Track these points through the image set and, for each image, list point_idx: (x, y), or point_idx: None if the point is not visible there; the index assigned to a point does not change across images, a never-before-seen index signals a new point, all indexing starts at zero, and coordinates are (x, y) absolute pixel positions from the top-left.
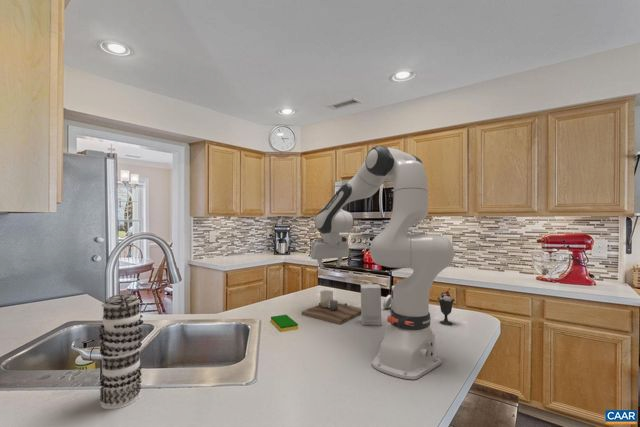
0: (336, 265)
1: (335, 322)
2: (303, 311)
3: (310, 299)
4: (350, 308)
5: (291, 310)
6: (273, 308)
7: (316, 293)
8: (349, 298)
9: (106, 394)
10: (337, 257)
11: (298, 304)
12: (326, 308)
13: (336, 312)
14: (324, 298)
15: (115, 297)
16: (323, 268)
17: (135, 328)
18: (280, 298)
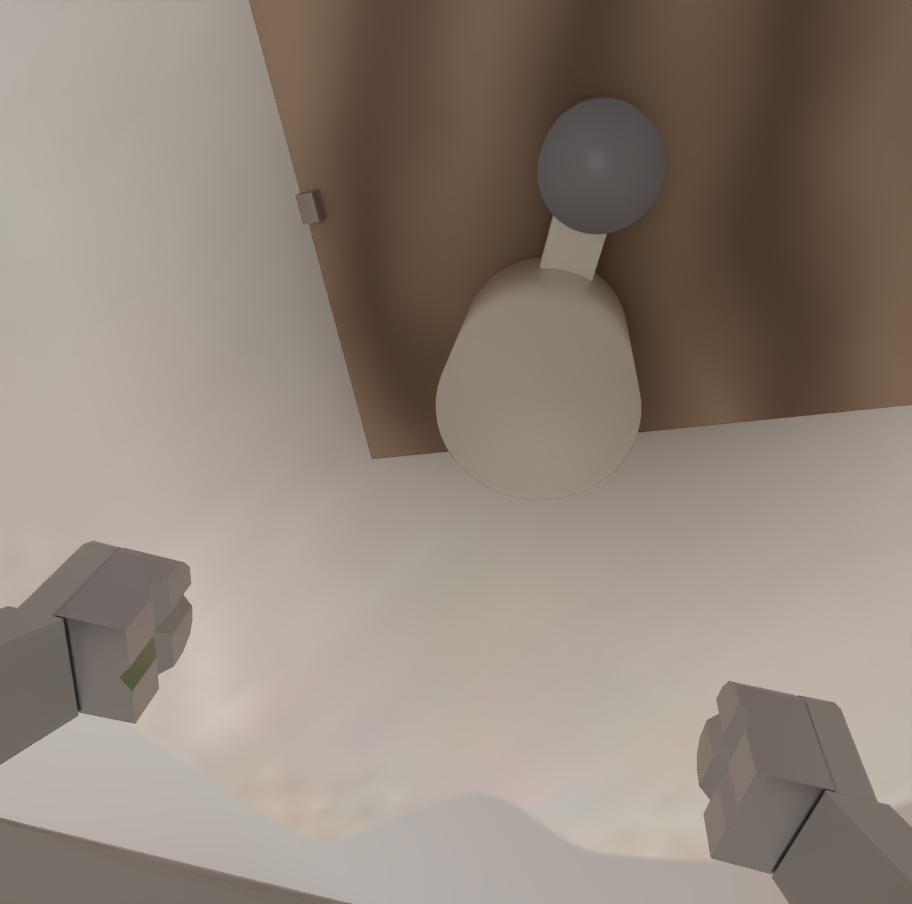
0: (168, 641)
1: None
2: (905, 385)
3: (407, 666)
4: (368, 43)
5: (834, 559)
6: (892, 707)
7: (231, 742)
8: (48, 437)
9: None
10: (22, 830)
11: (619, 639)
12: (608, 278)
13: (659, 41)
14: (628, 344)
15: None
16: (738, 686)
17: None
18: (595, 840)
